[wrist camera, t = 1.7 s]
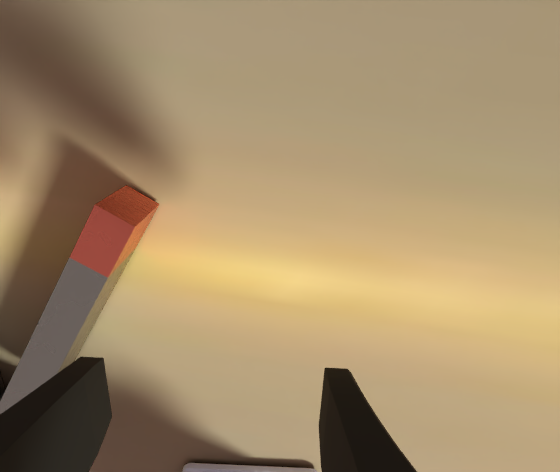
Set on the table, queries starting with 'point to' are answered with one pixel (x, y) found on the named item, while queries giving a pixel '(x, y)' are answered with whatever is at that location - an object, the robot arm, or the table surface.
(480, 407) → the table surface
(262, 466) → the robot arm
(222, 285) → the table surface
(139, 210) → the tongs jaw
